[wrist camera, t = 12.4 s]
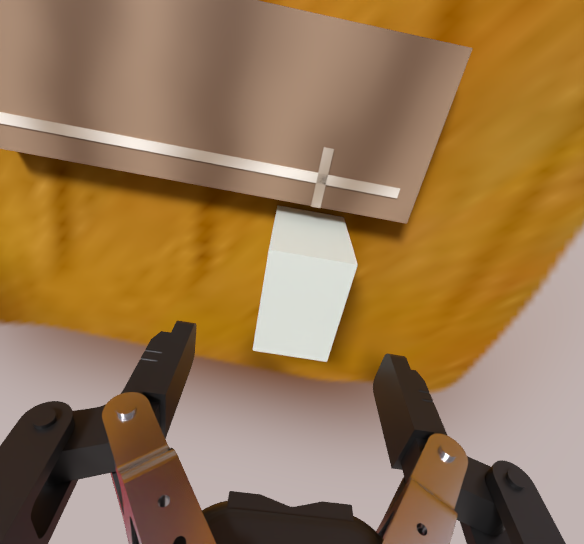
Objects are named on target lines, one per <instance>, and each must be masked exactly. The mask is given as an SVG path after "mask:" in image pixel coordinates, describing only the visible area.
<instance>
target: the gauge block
mask: <svg viewBox="0 0 584 544" xmlns="http://www.w3.org/2000/svg"><path fill="white" fill-rule="evenodd" d="M357 265H358V264H357V261H356V258H355V254H354V251H353V247H352V244H351V241H350V237H349V234H348V230H347V227H346V224H345V220H344V217H340V216H334V215H329V214H323V213H318V212H312V211H307V210H301V209H296V208H290V207H285V206H279V205H278V206H277V211H276V216H275V221H274V226H273V231H272V236H271V242H270V247H269V252H268V258H267V265H266V271H265V277H264V283H263V289H262V295H261V302H260V308H259V314H258V320H257V326H256V332H255V338H254V345H253V351H259V352H266V353H272V354H279V355H285V356H292V357H298V358H305V359H311V360H318V361H325V362H327V360H328V357H329V354H330V351H331V347H332V344H333V341H334V338H335V335H336V332H337V328H338V325H339V322H340V319H341V316H342V313H343V309H344V306H345V303H346V300H347V297H348V294H349V291H350V287H351V284H352V281H353V278H354V275H355V272H356V268H357Z"/></svg>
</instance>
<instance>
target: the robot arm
mask: <svg viewBox="0 0 584 544" xmlns="http://www.w3.org/2000/svg"><path fill="white" fill-rule="evenodd" d="M195 340H196V323H190V322H183V321H177V322H176V324H175V326H174V328H173V330H172V332H171V333H169V332H162V331H161V332H160V333H159V334H157V335H156V336H155V337H153V338H152V339H151V341H150V342H149V344H148V346H147V348H146V351H145V352H144V353H143V355H142V357H141V360H140V361H139V363H138V365H137V366H136V368H135V370H134V372H133V373H132V375H131V377H130V379H129V381H128V382H127V384H126V386H125V388H124V390H123V391H122V393H121V394H120V395H117V396H116V397H114V398H112V399H111V400H110V401H109V402H108V403H107V404H106V405H104V406H101V407H97V408H91V409H85V410H77V411H72V409H71V407H70V406H69V405H67V404H66V403H63V402H58V401H52V402H46V403H42V404H40V405H37V406H35V407H33V408H32V409H30V410H29V411H27V412H26V413H25V414H24V415H23V416H22V417H21V418H20V419H19V421H18V422H17V424H16V425H15V426H14V428H13V429H12V430H11V432H10V433H9V435H8V436H7V437H6V439H5V440H4V442H3V443H2V444H1V446H0V544H48V542H49V540H50V538H51V536H52V534H53V532H54V530H55V528H56V525H57V523H58V521H59V519H60V517H61V515H62V513H63V511H64V508H65V506H66V504H67V502H68V500H69V498H70V496H71V494H72V492H73V489H74V488H75V485H76V483H77V481H78V479H82V478H87V477H92V476H96V475H101V474H106V473H111V477H112V480H113V484H114V487H115V491H116V494H117V498H118V501H119V505H120V509H121V512H122V516H123V519H124V524H125V528H126V533H127V538H128V542H129V544H450V541H451V537H452V534H453V531H454V527H455V523H456V520H459V521H460V523H461V526H462V530H463V533H464V536H465V539H466V542H467V544H566V543H565V542H564V540H563V538H562V536H561V534H560V532H559V530H558V528H557V527H556V525H555V523H554V521H553V519H552V517H551V515H550V513H549V511H548V509H547V508H546V506H545V504H544V502H543V500H542V498H541V496H540V494H539V493H538V491H537V489H536V487H535V485H534V483H533V482H532V480H531V479H530V477H529V476H528V475H527V474H526V473H525V472H524V471H523V470H522V469H520V468H519V467H517V466H516V465H514V464H512V463H510V462H507V461H497V462H496V463H494V464H493V466H492V467H490V466H488V465H486V464H483V463H481V462H479V461H476V460H474V459H472V458H470V457H468V456H467V455H466V453H465V451H464V449H463V448H462V447H461V446H460V445H459V443H457V442H456V441H455V440H454V439H452V438H450V437H449V436H447V434H446V432H445V429H444V426H443V424H442V422H441V419H440V417H439V414H438V412H437V410H436V407H435V405H434V403H433V400H432V398H431V395H430V394H429V390H428V388H427V386H426V383H425V381H424V380H423V378H422V377H421V376H420V375H419V374H418V372H417V371H416V370H411V369H410V367H409V364H408V361H407V359H406V357H404V356H399V355H393V354H386V355H385V356H384V358H383V361H382V363H381V365H380V367H379V370H378V372H377V374H376V376H375V379H374V383H373V392H374V397H375V401H376V405H377V409H378V414H379V417H380V422H381V426H382V430H383V434H384V438H385V442H386V447H387V451H388V455H389V459H390V463H391V467H392V468H394V469H401V470H403V473H404V478H403V479H402V481H401V483H400V485H399V487H398V489H397V491H396V493H395V495H394V497H393V499H392V502H391V504H390V506H389V508H388V510H387V512H386V514H385V516H384V518H383V520H382V522H381V524H380V525H379V527H378V529H377V531H375V530H374V529H372V528H371V527H370V526H369V525H367V524H366V523H365V522H363V521H361V520H360V519H358V518H356V517H354V516H353V512H352V505H347V504H339V503H329V502H318V503H313V504H308V505H302V506H297V507H289V506H287V505H284V504H282V503H279V502H277V501H274V500H272V499H270V498H267V497H265V496H262V495H260V494H251V493H242V492H234V491H230V492H229V498H228V501H224V502H220V503H217V504H214V505H212V506H210V507H208V508H205V509H204V510H201V508H200V506H199V503H198V501H197V499H196V496H195V495H194V492H193V490H192V487H191V485H190V483H189V481H188V478H187V476H186V474H185V471H184V469H183V467H182V464H181V462H180V460H179V458H178V455H177V453H176V452H175V450H174V449H173V448H171V449H170V448H169V446H168V445H167V442H166V440H165V439H166V436H167V433H168V430H169V428H170V425H171V422H172V419H173V416H174V413H175V411H176V408H177V405H178V402H179V399H180V397H181V394H182V391H183V388H184V386H185V383H186V380H187V377H188V375H189V372H190V369H191V366H192V363H193V359H194V353H195Z"/></svg>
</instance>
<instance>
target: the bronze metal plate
mask: <svg viewBox="0 0 584 544" xmlns="http://www.w3.org/2000/svg"><path fill="white" fill-rule="evenodd" d="M471 51H472V48H469V47H465V46H460V45H456V44H451V43H447V42H442V41H438V40H433V39H429V38H424V37H420V36H415V35H411V34H406V33H402V32H397V31H393V30H388V29H384V28H379V27H375V26H370V25H366V24H361V23H357V22H352V21H348V20H343V19H339V18H334V17H330V16H325V15H321V14H316V13H312V12H307V11H303V10H298V9H294V8H289V7H285V6H280V5H276V4H271V3H267V2H262V1H258V0H0V149H6V150H11V151H17V152H22V153H27V154H33V155H38V156H44V157H49V158H54V159H60V160H65V161H71V162H76V163H81V164H87V165H92V166H98V167H103V168H109V169H114V170H119V171H125V172H130V173H136V174H141V175H146V176H152V177H157V178H163V179H168V180H174V181H179V182H184V183H190V184H195V185H201V186H206V187H211V188H217V189H222V190H228V191H233V192H238V193H244V194H249V195H255V196H260V197H266V198H271V199H276V200H282V201H287V202H293V203H298V204H303V205H309V206H311V207H316V208H325V209H331V210H336V211H341V212H347V213H352V214H358V215H363V216H368V217H374V218H379V219H385V220H390V221H396V222H401V223H406V224H407V222H408V219H409V217H410V214H411V211H412V209H413V206H414V203H415V201H416V198H417V195H418V193H419V190H420V187H421V185H422V182H423V179H424V177H425V174H426V171H427V169H428V166H429V163H430V160H431V158H432V155H433V152H434V150H435V147H436V144H437V142H438V139H439V136H440V134H441V131H442V128H443V126H444V123H445V120H446V118H447V115H448V112H449V110H450V107H451V104H452V102H453V99H454V96H455V94H456V91H457V88H458V86H459V83H460V80H461V78H462V75H463V72H464V70H465V67H466V64H467V62H468V59H469V56H470V54H471Z"/></svg>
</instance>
